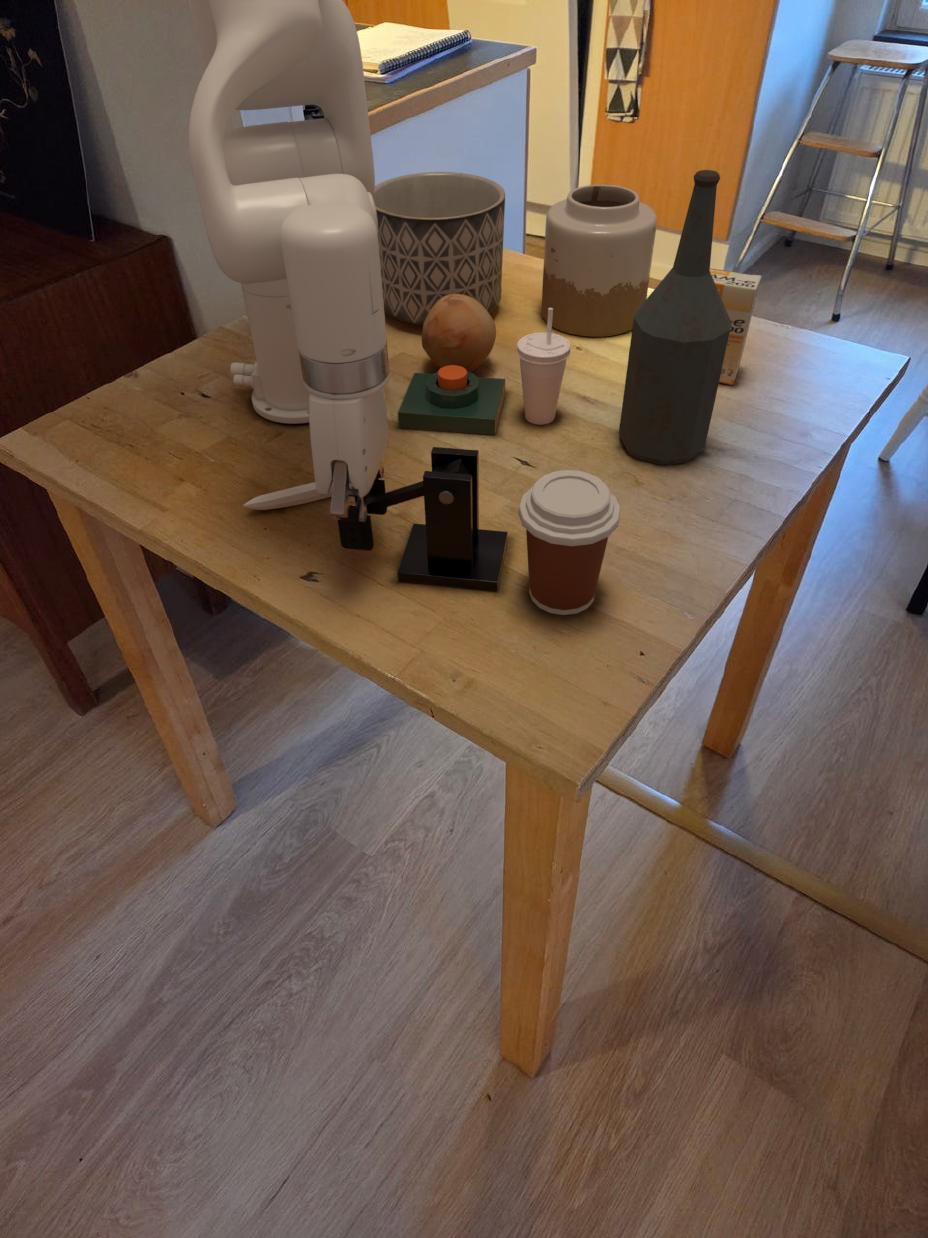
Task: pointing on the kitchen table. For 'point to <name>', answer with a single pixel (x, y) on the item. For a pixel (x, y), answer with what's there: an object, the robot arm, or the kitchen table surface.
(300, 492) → the pen
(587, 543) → the coffee cup
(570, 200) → the vase
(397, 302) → the planter
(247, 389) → the kitchen table surface
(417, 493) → the lever
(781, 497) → the kitchen table surface
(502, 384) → the button block
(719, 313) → the bottle
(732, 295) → the supplement box
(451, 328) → the onion
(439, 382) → the button
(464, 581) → the bracket
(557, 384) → the smoothie
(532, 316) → the kitchen table surface
